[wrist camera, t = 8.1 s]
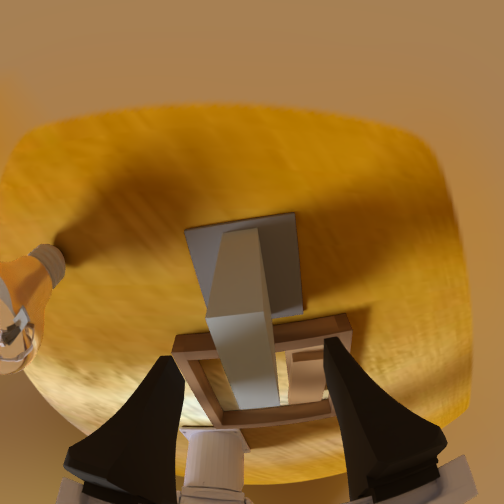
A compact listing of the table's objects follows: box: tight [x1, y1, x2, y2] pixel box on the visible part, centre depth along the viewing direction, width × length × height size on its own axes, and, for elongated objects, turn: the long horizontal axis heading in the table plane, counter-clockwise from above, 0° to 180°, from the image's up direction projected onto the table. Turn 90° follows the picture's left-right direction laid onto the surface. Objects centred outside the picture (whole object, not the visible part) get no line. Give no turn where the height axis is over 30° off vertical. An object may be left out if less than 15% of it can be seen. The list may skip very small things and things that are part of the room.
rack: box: [171, 313, 353, 429], centre depth 24 cm, size 14×14×2 cm
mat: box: [184, 212, 303, 319], centre depth 19 cm, size 8×7×1 cm
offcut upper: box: [288, 351, 326, 404], centre depth 24 cm, size 7×3×1 cm, turn 3°
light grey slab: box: [206, 228, 280, 410], centre depth 15 cm, size 7×2×8 cm, turn 9°
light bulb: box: [0, 244, 65, 375], centre depth 13 cm, size 7×7×12 cm
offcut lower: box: [285, 345, 324, 380], centre depth 25 cm, size 8×4×1 cm, turn 9°
